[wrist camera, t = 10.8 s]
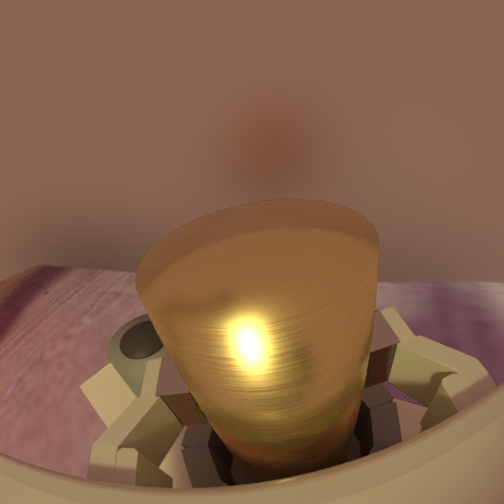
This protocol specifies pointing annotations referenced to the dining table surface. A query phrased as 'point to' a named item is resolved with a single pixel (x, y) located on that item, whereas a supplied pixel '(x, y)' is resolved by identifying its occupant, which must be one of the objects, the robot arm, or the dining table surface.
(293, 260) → the amber cylinder
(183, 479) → the fitting plate
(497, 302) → the dining table surface
